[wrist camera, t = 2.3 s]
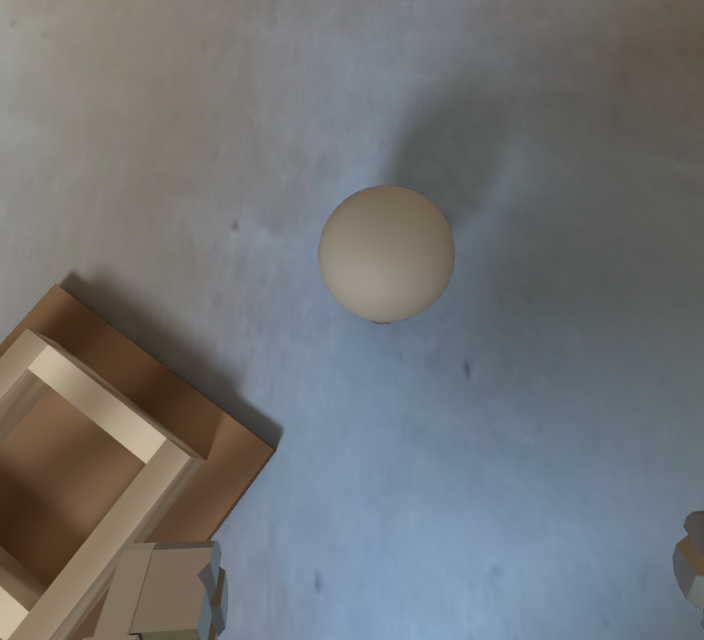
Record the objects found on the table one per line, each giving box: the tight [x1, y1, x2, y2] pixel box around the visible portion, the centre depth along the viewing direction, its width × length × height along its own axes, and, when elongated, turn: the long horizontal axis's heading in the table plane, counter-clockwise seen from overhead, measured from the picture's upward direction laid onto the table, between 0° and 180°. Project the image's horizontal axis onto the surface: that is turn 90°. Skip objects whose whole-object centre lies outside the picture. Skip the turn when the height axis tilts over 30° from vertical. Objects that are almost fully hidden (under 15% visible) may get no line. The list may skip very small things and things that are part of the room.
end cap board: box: [0, 284, 276, 640], centre depth 30 cm, size 16×16×4 cm
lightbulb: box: [318, 185, 455, 324], centre depth 29 cm, size 6×6×11 cm
